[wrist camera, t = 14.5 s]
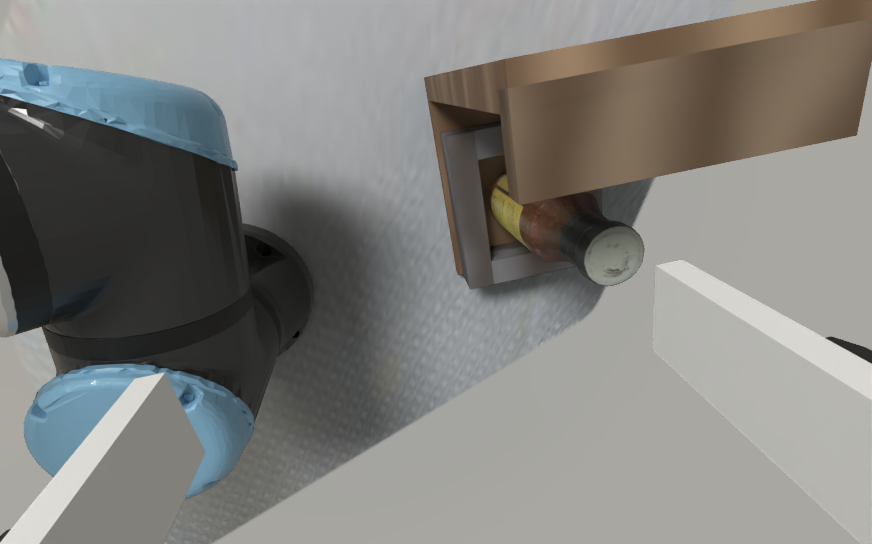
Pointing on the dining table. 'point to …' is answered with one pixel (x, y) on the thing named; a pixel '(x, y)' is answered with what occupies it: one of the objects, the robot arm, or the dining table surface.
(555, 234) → the sauce bottle
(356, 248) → the dining table surface
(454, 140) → the stand
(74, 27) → the dining table surface
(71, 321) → the robot arm
